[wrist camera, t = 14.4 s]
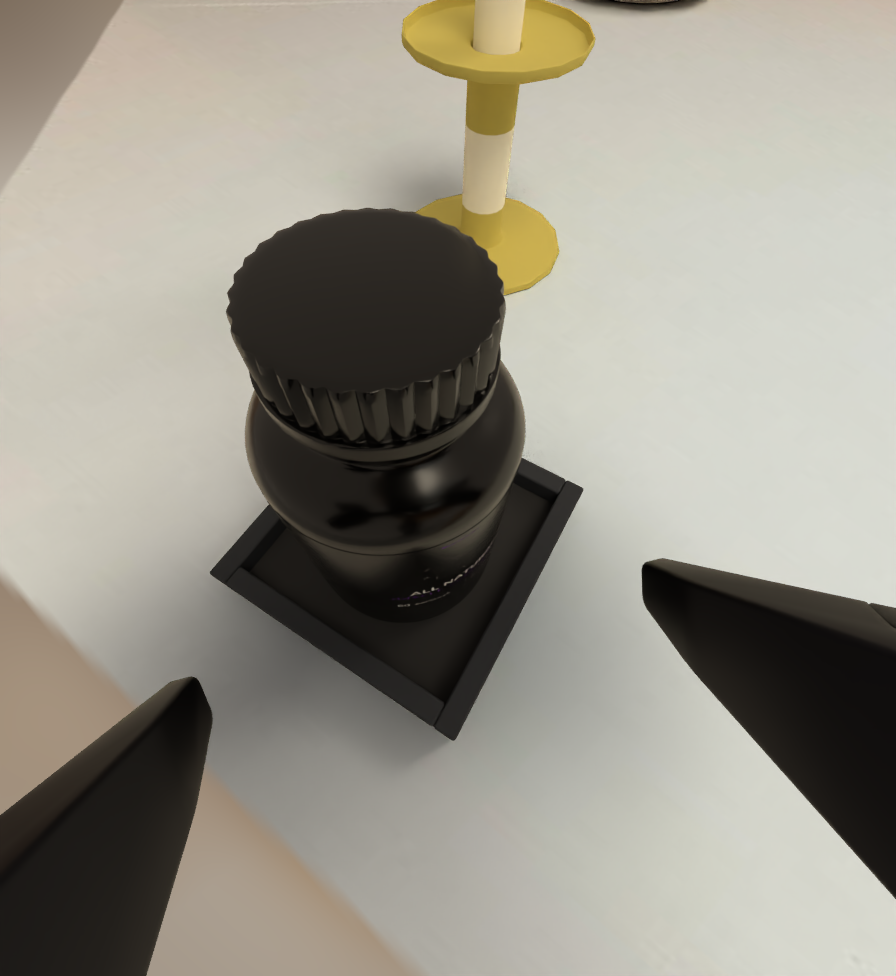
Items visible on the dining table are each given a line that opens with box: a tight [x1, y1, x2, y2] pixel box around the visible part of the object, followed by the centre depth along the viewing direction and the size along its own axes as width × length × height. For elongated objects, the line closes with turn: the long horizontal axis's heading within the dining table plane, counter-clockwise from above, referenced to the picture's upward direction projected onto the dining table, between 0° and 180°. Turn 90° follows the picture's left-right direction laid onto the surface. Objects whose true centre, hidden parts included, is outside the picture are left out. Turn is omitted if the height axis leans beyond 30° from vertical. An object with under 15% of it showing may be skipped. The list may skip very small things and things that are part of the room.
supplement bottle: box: [226, 208, 526, 623], centre depth 13 cm, size 7×7×12 cm
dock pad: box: [210, 458, 583, 741], centre depth 18 cm, size 11×11×2 cm
